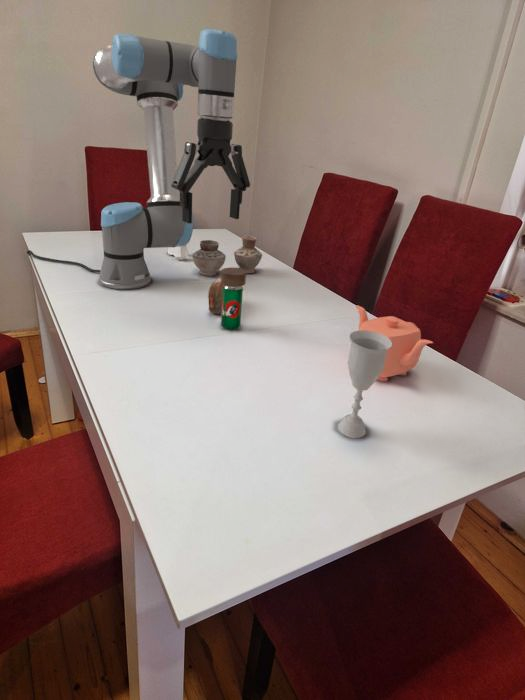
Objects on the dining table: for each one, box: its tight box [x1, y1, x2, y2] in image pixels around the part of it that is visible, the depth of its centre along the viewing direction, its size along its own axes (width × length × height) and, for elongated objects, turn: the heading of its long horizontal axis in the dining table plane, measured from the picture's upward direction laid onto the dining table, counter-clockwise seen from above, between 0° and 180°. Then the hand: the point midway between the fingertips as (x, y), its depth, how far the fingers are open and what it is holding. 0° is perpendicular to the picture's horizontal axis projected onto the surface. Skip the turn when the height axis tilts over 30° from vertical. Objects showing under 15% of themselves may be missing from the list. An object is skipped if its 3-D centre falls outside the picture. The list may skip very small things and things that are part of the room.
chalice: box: [337, 330, 392, 439], centre depth 78 cm, size 7×7×18 cm
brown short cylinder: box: [220, 266, 247, 287], centre depth 111 cm, size 6×6×3 cm
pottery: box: [191, 235, 263, 277], centre depth 156 cm, size 11×25×12 cm, turn 116°
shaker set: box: [167, 245, 189, 261], centre depth 167 cm, size 12×4×11 cm, turn 31°
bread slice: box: [207, 275, 224, 315], centre depth 126 cm, size 15×3×8 cm, turn 168°
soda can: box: [220, 285, 244, 331], centre depth 115 cm, size 5×5×12 cm
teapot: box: [355, 305, 434, 382], centre depth 101 cm, size 15×17×13 cm
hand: (211, 220), depth 106 cm, fingers open, 13 cm apart
